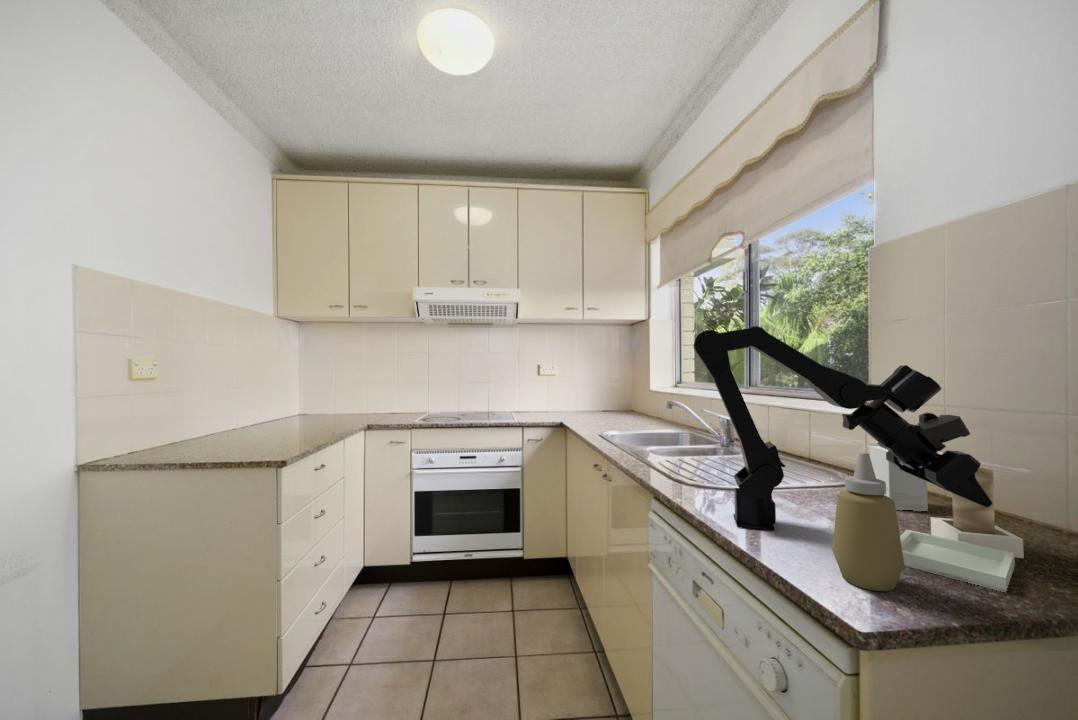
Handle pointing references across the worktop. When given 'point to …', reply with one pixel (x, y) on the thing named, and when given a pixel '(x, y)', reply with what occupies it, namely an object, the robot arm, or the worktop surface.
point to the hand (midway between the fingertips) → (971, 497)
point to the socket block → (979, 537)
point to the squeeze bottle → (867, 531)
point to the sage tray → (958, 560)
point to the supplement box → (899, 483)
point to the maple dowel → (976, 508)
